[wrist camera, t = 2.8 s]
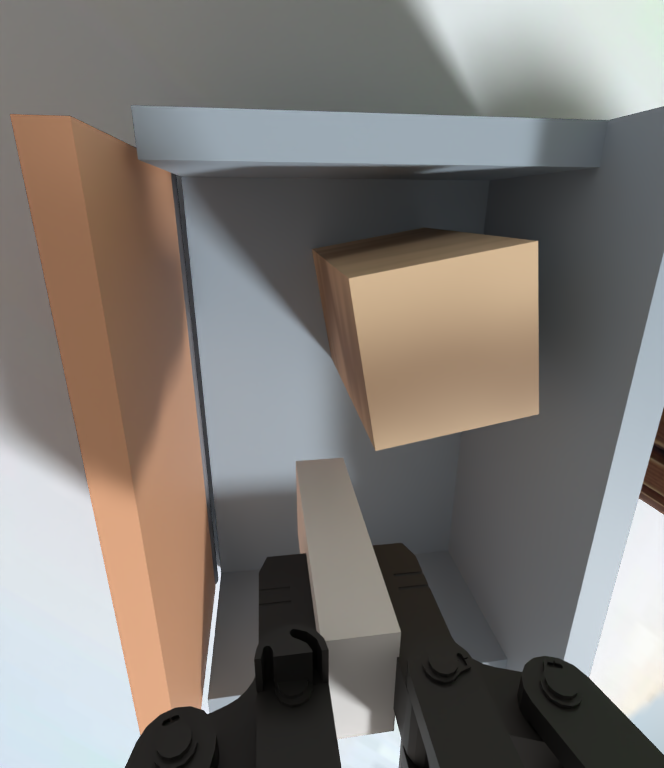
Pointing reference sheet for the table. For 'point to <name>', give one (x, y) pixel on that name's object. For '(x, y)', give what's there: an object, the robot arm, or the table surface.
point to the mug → (655, 472)
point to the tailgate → (130, 391)
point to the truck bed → (450, 452)
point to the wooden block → (433, 330)
